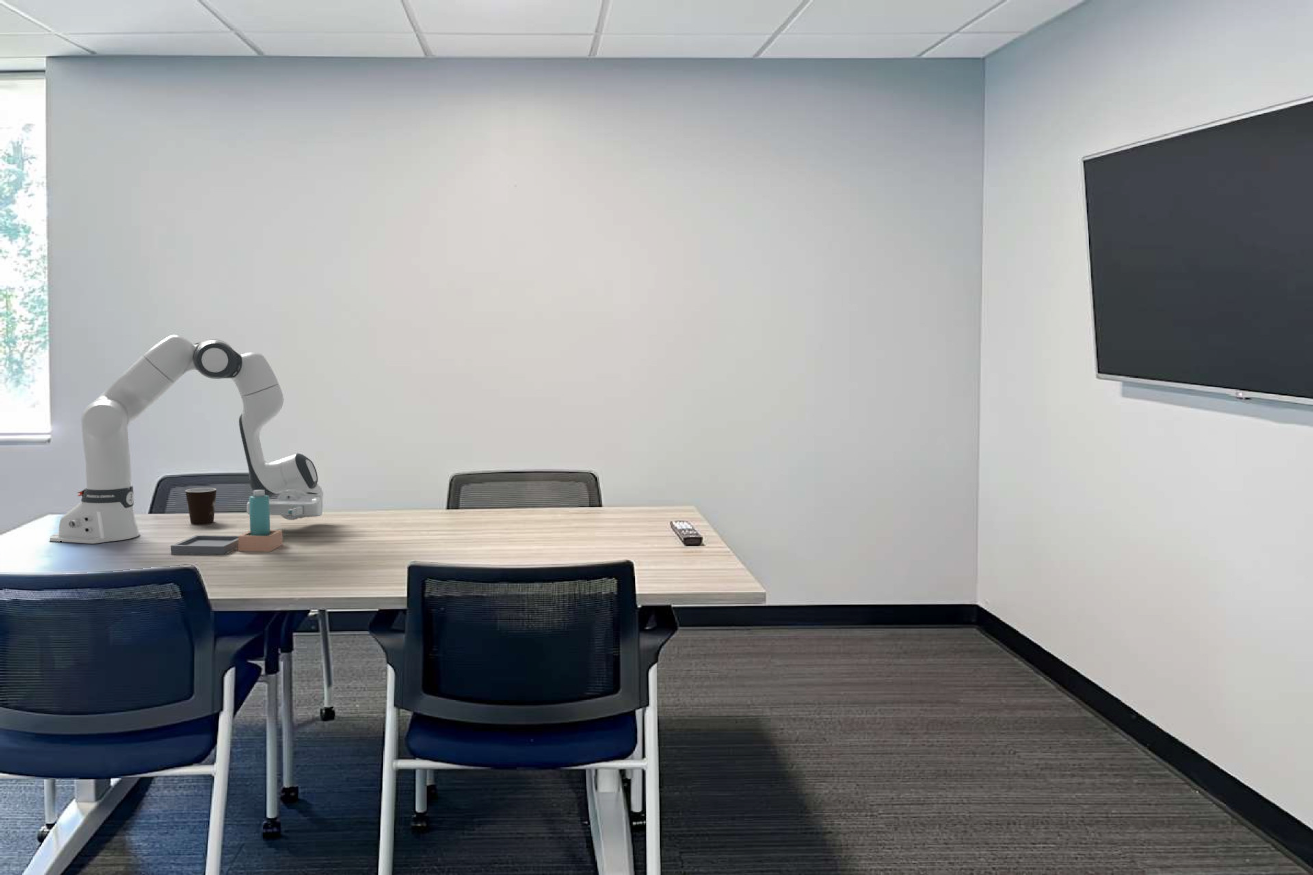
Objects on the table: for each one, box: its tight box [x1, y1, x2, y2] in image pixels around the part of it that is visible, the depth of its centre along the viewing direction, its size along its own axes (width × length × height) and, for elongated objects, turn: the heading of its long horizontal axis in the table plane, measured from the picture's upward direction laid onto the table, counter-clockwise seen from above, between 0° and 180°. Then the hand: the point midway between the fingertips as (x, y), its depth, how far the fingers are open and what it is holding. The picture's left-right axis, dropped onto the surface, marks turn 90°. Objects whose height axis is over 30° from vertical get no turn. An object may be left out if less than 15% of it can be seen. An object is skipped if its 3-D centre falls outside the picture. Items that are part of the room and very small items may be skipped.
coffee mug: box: [184, 487, 217, 526], centre depth 320 cm, size 12×9×10 cm
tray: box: [170, 534, 239, 555], centre depth 282 cm, size 14×14×2 cm
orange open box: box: [237, 529, 283, 552], centre depth 284 cm, size 8×8×4 cm
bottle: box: [248, 490, 271, 536], centre depth 283 cm, size 5×5×16 cm
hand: (274, 512), depth 293 cm, fingers open, 8 cm apart
